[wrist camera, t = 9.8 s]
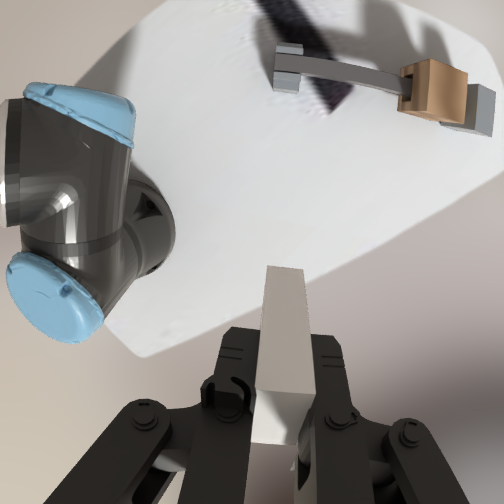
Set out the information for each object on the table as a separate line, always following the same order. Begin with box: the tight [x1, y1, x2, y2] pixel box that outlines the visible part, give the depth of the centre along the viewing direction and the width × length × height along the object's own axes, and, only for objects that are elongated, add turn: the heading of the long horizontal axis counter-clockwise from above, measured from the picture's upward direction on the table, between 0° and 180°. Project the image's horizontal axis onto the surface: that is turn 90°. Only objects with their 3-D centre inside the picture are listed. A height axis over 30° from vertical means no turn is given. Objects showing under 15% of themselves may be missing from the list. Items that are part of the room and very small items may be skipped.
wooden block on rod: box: [397, 59, 468, 124], centre depth 27 cm, size 5×6×9 cm
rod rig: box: [273, 42, 496, 137], centre depth 29 cm, size 27×6×9 cm, turn 85°
